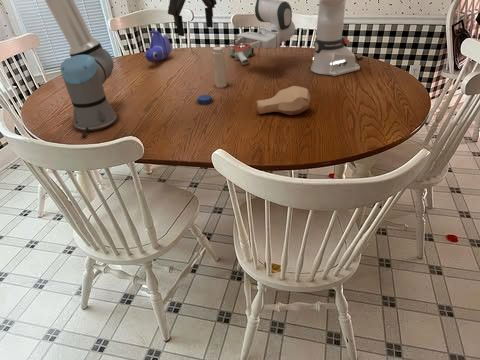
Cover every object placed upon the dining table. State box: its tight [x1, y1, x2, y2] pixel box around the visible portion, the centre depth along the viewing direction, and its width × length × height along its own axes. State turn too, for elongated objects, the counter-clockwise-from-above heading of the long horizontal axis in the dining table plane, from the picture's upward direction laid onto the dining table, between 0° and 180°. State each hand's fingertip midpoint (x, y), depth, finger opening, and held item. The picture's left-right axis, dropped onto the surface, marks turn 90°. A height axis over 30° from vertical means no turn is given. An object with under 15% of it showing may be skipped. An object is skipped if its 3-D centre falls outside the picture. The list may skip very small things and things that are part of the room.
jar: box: [212, 46, 228, 89], centre depth 152 cm, size 5×5×16 cm
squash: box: [255, 85, 312, 116], centre depth 130 cm, size 11×20×9 cm, turn 92°
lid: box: [197, 94, 213, 105], centre depth 143 cm, size 6×6×2 cm
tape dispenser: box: [228, 43, 255, 66], centre depth 185 cm, size 18×5×20 cm
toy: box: [144, 30, 172, 67], centre depth 185 cm, size 10×17×25 cm
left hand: (196, 31), depth 128 cm, fingers open, 13 cm apart
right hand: (243, 44), depth 154 cm, fingers open, 8 cm apart
